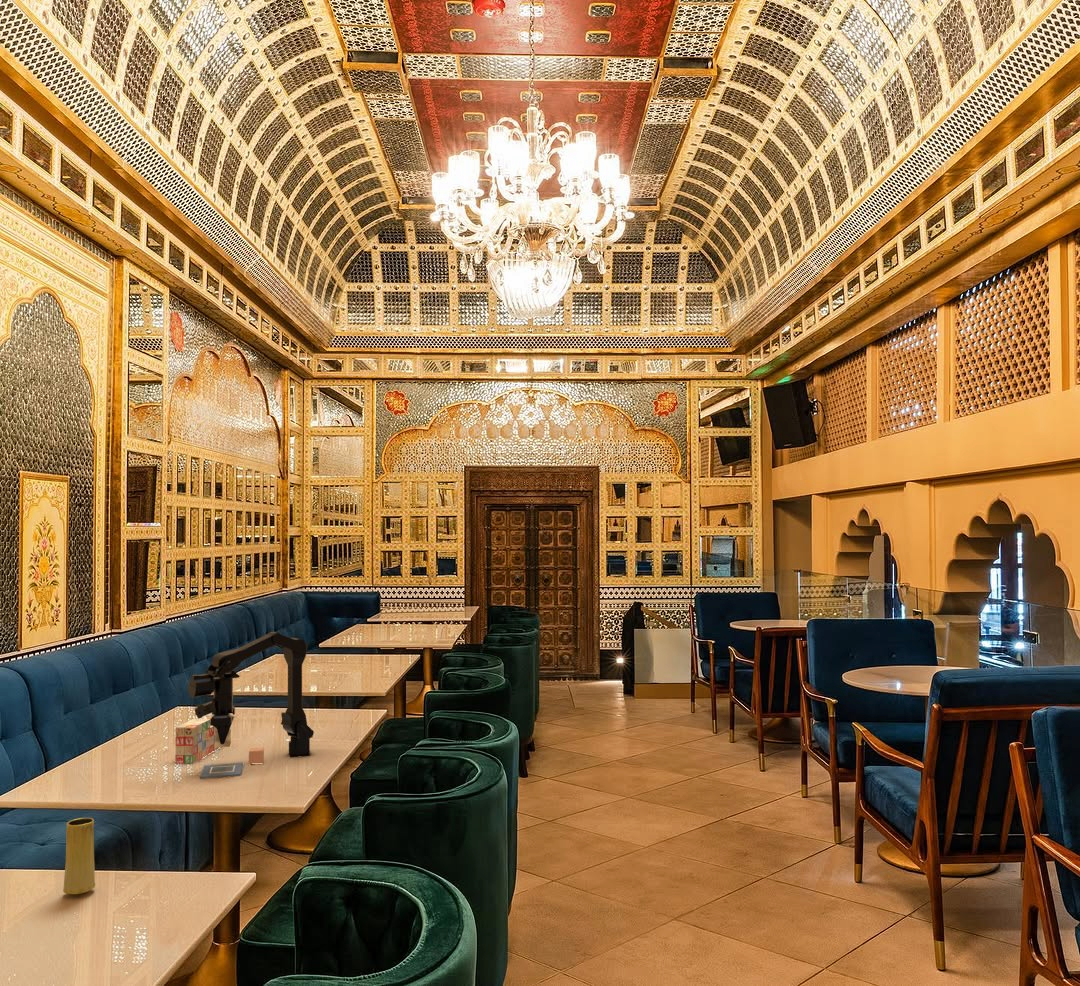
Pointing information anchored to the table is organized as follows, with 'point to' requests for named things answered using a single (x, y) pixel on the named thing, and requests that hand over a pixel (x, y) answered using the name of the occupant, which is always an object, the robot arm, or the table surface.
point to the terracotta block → (256, 755)
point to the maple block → (227, 741)
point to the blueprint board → (221, 770)
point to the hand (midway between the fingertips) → (222, 742)
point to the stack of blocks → (194, 741)
